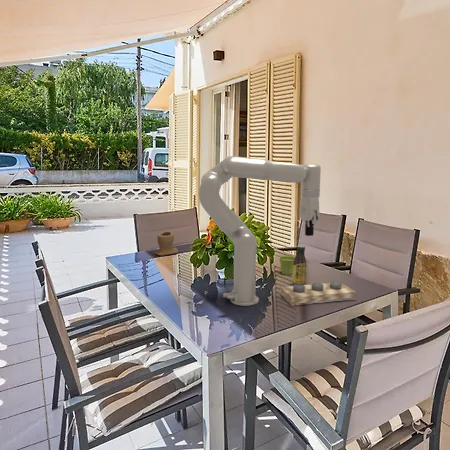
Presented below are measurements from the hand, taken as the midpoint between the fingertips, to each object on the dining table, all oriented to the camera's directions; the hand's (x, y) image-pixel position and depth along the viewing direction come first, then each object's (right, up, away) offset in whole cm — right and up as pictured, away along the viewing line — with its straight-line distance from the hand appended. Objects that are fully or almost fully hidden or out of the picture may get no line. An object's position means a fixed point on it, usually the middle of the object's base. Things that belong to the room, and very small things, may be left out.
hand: (309, 235), depth 177 cm
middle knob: (+5, -29, +6) cm, 30 cm away
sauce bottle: (0, -26, +23) cm, 35 cm away
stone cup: (-74, -15, +84) cm, 113 cm away
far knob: (+14, -28, +8) cm, 32 cm away
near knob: (-4, -29, +4) cm, 29 cm away
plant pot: (-3, -22, +43) cm, 48 cm away
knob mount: (+5, -28, +6) cm, 30 cm away
